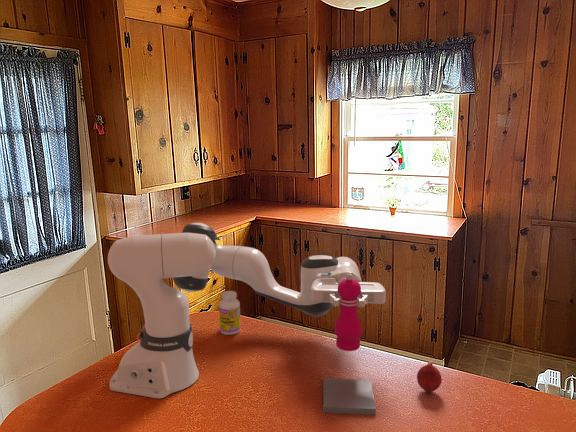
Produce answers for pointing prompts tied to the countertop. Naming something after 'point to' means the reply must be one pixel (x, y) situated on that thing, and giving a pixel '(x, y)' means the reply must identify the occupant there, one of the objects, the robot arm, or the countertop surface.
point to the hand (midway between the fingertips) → (349, 304)
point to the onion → (429, 377)
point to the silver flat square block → (348, 396)
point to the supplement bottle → (229, 313)
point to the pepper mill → (348, 315)
